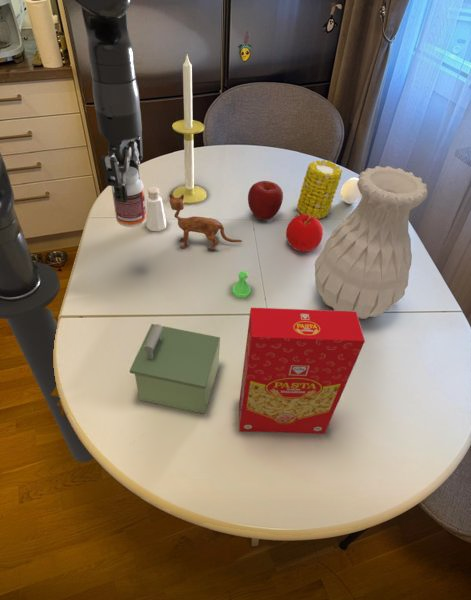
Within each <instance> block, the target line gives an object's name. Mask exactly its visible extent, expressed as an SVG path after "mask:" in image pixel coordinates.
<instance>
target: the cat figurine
mask: <svg viewBox="0 0 471 600" xmlns="http://www.w3.org/2000/svg"><path fill="white" fill-rule="evenodd" d="M183 199H184V195H182V196H181V197H179V198H177V197H176V198H175V197H174V196H173V194H171V193H170V194H169V205H170V207H171V210H172V211H176V212H175V213H174V218H176V219H177V226H178V227H179V229H181V231H183V237H180V241H182V242H183V241H184V243H183V244H182V245H180V246H179V248H180V249H185V248H187V247H188V245H189V233H190V232H192V233H197V234H198V233H199V234H204V235H205V237H206V239H207V240H208V241H209V242H210V243H212V244H211V247H208V248H207V250H209V251H212V250H214V249H215V248H216V246H218V245H219V241H218V240H217V238H216V236H217V234H218V232H219V234H220V236H221V238H222V239H223V240H224V241H226V242H228V243H242V242H243V240H241V239H232V238H229V237H227V236H226V234H225V228H224V225H223V224H222V222H220V221H219V220H218V219H216V218H211V217H203V216H189V217H180V216H179V215H180V213H181V211H182V210H184V208H185V203H184V200H183Z"/></svg>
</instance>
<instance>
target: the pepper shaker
mask: <svg viewBox="0 0 471 600" xmlns="http://www.w3.org/2000/svg"><path fill="white" fill-rule="evenodd" d="M147 193H148V194H147V195H148V196H147V199H146V221H145V222H146V225H145V227H146V228H147V229H148V230H149V231H150V232H157V233H158V232H159V233H160V232H161V231H163V230H166V227H167V220H166V214H165V208H164V204H163V199H162V197H161V196H160V189H159V188H158V187H156V186H151V187H149V188H147Z"/></svg>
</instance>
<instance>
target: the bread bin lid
mask: <svg viewBox="0 0 471 600" xmlns="http://www.w3.org/2000/svg"><path fill="white" fill-rule="evenodd" d="M219 342H220V343H221V337H220V336H215V335H209V334H206V333H205V334H204V333H201V332H195V331H189V330H185V329H180V328H174V327H171V326H165V325H161V324H157V323H156V324H155V323H151V325H150V327H149V329H148V331H147V333H146V335H145V337H144V339H143V341H142V343H141V345H140V348H139V350H138V351H137V354H136V356H135V358H134V360H133V362H132V365H131V366H130V369H129V373H130V374H133V375H135V374H137V375H142V376H146V377H151V378H156V379H160V380H165V381H170V382H174V383H179V384H184V385H189V386H193V387H198V388H203V389H205V388H206V384H207V381H208V378H209V375H210V371H211V368H212V365H213V362H214V358H215V355H216V352H217V348H218V345H219Z"/></svg>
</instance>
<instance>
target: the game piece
mask: <svg viewBox="0 0 471 600" xmlns="http://www.w3.org/2000/svg"><path fill="white" fill-rule="evenodd" d="M248 277H249V274H248V271H246V270H240V271H239V273H238V281H237V283H235V284H234V285H233V286H232V295H234V296H235V297H237V298H240V299H241V298H242V299H243V298H245V299H246V298H247V297H248V296H250V295H251V286H250V285H249V284H248V283H247V279H248Z"/></svg>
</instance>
